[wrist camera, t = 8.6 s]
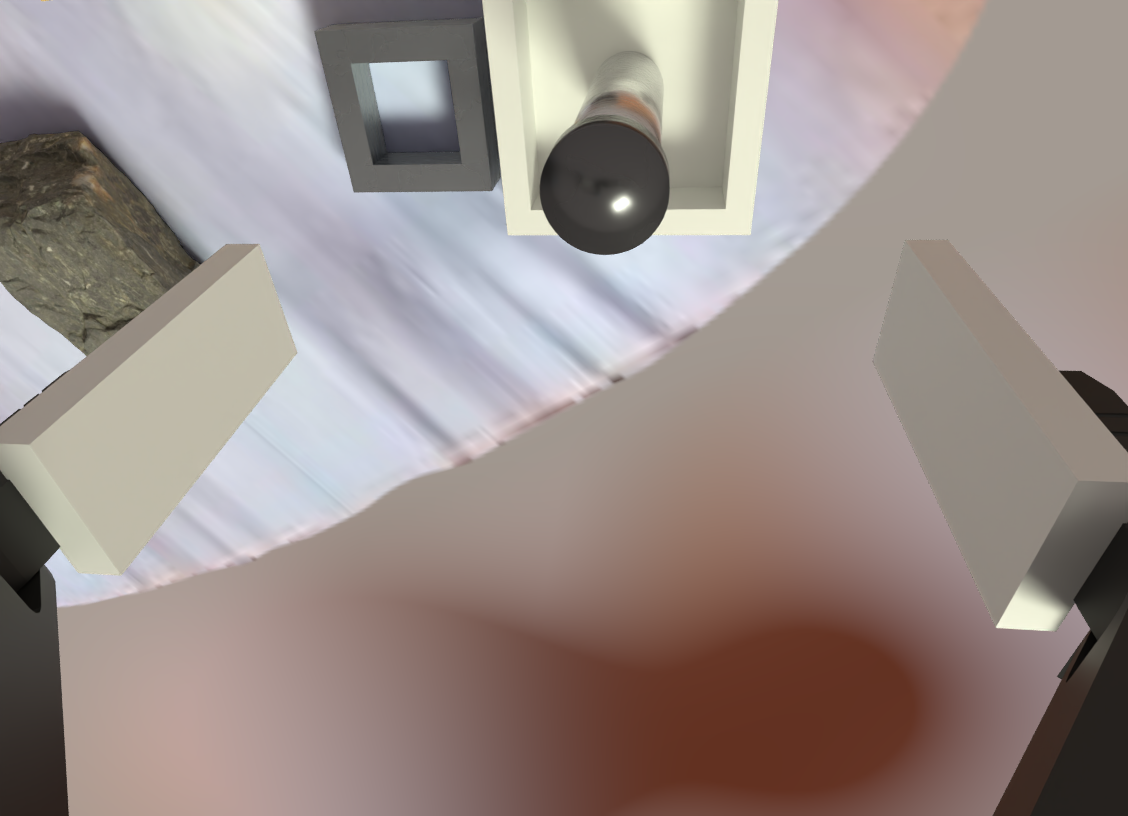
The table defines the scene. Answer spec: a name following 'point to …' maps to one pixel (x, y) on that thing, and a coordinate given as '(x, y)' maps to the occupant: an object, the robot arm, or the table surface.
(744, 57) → the tray
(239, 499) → the table surface
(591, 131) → the pin
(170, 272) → the rock
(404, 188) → the pin socket
